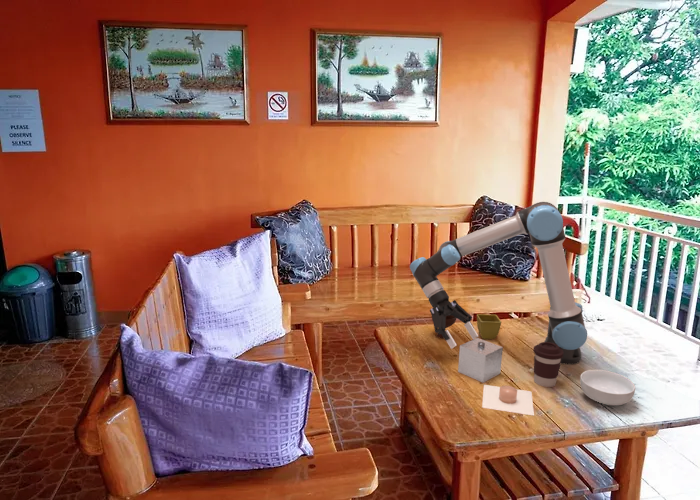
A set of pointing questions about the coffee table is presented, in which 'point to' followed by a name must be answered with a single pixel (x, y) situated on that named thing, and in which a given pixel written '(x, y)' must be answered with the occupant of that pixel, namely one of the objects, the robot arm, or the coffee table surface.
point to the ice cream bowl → (447, 323)
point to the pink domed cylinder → (508, 394)
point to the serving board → (520, 406)
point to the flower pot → (488, 325)
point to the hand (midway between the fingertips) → (465, 342)
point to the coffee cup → (547, 363)
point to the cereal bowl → (607, 387)
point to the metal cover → (480, 359)
